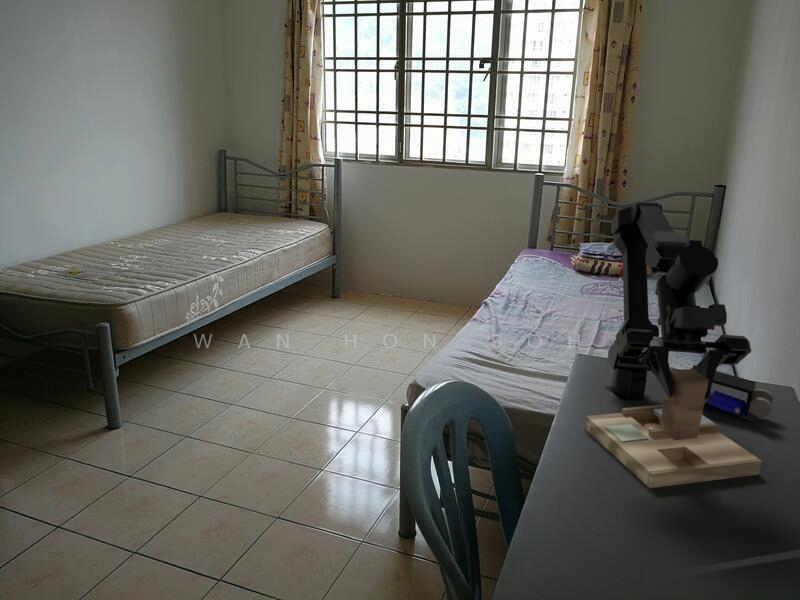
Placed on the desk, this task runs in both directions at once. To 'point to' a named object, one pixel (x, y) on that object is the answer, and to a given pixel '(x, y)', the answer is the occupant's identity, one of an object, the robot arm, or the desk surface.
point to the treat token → (651, 426)
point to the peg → (684, 405)
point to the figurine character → (755, 402)
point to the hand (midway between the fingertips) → (688, 397)
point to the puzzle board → (669, 449)
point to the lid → (703, 421)
